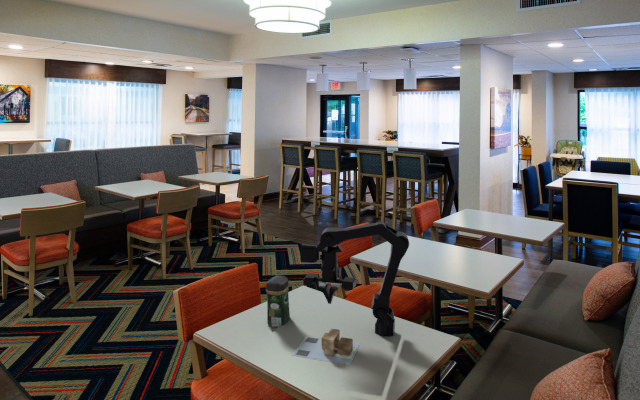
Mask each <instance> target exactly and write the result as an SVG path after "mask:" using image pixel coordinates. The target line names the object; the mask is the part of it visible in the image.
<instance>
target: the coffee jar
mask: <svg viewBox="0 0 640 400" xmlns="http://www.w3.org/2000/svg"><path fill="white" fill-rule="evenodd" d="M289 286H290V284H289V279H288V277H287V276H285V275H275V276H273V277H271V278H270V279H268V280H267V281H266V283H265V292H266V305H267V306H266V307H267V308H266V309H267V310H266V311H267V316H266V317H267V318H266V319H267V323H266V324H267V325H268V326H270V327H271V328H276V329H278V328H279V326H280V327H281V326H284V325H286V324H287V323H288V322H289V320H290V319H291V317H290V316H291V314H290V301H289V299H290V298H289V288H290V287H289Z"/></svg>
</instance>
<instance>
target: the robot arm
mask: <svg viewBox="0 0 640 400" xmlns="http://www.w3.org/2000/svg"><path fill="white" fill-rule="evenodd" d="M373 236H380V237H382V238H383V239H384V240H385V241H386V242H387V243H389V244H390V256H389V259H388V262H387V265H386V269H385V272H384V277H383V279H382V282H381V286H380V290H378V293H377V292H374V293H373V296H372V297H373V298H372V299H371V301H370V302H371V305H370V307H371V308H370V310H372V315H373V317H374V318H375V319H376V321H375V323H374V333H375V334H377V335H379V336H382V337H386V338H387V337H394V335H395V333H396V332H395V331H396V329H395V328H396V319H395V313H394V309H393V308H391V307H390V303H391V301H390V300H391V293H392V291H393V287H394V284H395V281H396V277H397V273H398V271H399V267H400V263H401V261H402V259H403V258H404V256H405V255H406V253H407V251H408V249H409V247H410V240H409V237H408V235H407V233H405V232H403V231H398V230H397V229H395V228H393V227H392V226H390V225H387V224H386V223H385V222H384V221H377V222H373V223H369V224H362V225H356V226H351V227H339V226H338V227H332V226H331V227H326V228H324V230H322V233H321V236H320V238H319V240H318V241H317V243H316V244H307V243H302V244H301V248H300V249H301V250H300V254H299V255H300V256H299V261H300V263H301V264H302V263H303V264H304V263H307V264H317V263H318V261H320V260H321V267H320V271H321V277H319V275H318V274H317V273H311V272H310V273H309V272H308V273H307V274H306V275H305V277H304V278H303V279H302V284H303V286H306V287H307V286H308V287H312V286H313V284H314V283H318V287H317V288H318V289H319V290H320V291H321V293H323V295H324V297H325V299H326V301H327V304H329V305H331V304H332V302H333V299H334V296H335V293H336V292H337V291H338V290H339V289H340V288H342V289H343V290H348V291H353V290H354V289H355V288H356V285H357V279H356V277H354V276H353V277H351V276H350V277H349V276H345V277H344V279H341V278H340V277H341V275H342V267H339V263H338V253H342V252H343V247H341V246H340V244H341V243H344V242H346V241H349V240H350V241H351V240H355V239H356V240H357V239H362V238H369V237H373ZM338 278H340V279H338Z"/></svg>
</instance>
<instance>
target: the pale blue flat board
mask: <svg viewBox="0 0 640 400" xmlns="http://www.w3.org/2000/svg"><path fill="white" fill-rule="evenodd" d="M360 344H361V343H356V342H353V350H352V352H351V354H350V356H349V355H343V354H338V352H334V356H333V357H331V356H325V350H323V349H322V337H315V336H308V335H306V336H305V337H304V339H303V340H302V341H301V342H300V344H299V345H298V347H297V348H296V349H295V351H294V352H293V353H292V356H294V357H300V358H306V359H310V360H311V359H312V360H318V361H324V362H329V363H336V364H341V365H347V366H350V365H351V363H352V361H353V359H354V358H355V355H356V353H357V352H358V349H359V347H360Z"/></svg>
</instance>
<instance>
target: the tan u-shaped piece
mask: <svg viewBox="0 0 640 400" xmlns="http://www.w3.org/2000/svg"><path fill="white" fill-rule="evenodd" d="M328 333H329V332H324V334H323V335H322V337H321V338H322V349H323V350H325V344H324V339H325V337H326V336H327V334H328ZM353 341H354V338H347V337H343V336H341V337H340V340H339V342H338V347H336V346H334V352H338V354H343V355H349V356H350V354H351V352H352V350H353V343H354V342H353Z"/></svg>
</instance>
